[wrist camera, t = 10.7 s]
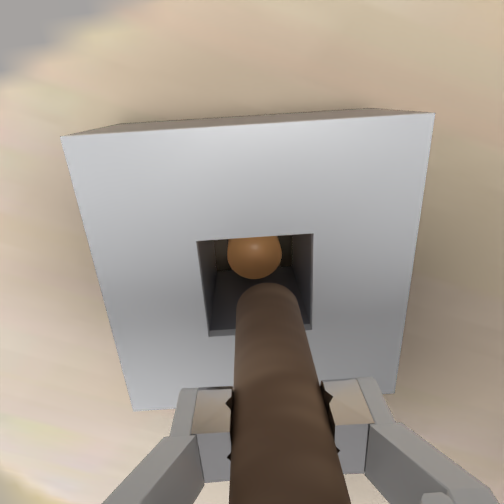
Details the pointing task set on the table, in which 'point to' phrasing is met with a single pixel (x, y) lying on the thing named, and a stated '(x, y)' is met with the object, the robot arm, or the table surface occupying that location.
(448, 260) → the table surface
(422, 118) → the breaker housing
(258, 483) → the brown rounded rod
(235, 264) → the plunger
